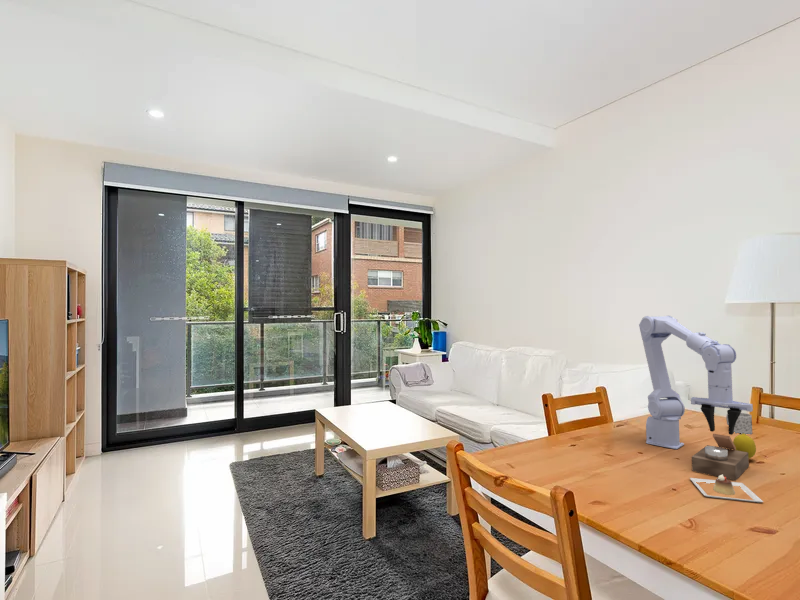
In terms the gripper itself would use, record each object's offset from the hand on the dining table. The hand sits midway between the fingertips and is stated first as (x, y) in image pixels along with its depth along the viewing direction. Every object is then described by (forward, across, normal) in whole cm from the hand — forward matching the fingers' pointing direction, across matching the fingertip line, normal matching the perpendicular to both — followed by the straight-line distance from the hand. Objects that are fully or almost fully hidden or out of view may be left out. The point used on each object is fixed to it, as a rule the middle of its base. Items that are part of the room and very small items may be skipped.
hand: (721, 432), depth 126 cm
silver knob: (+9, 0, -7) cm, 11 cm away
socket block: (+10, 0, -2) cm, 10 cm away
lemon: (+10, +3, +12) cm, 16 cm away
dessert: (+11, +5, -21) cm, 24 cm away
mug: (+10, -6, +50) cm, 51 cm away
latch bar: (+4, 0, +2) cm, 4 cm away
